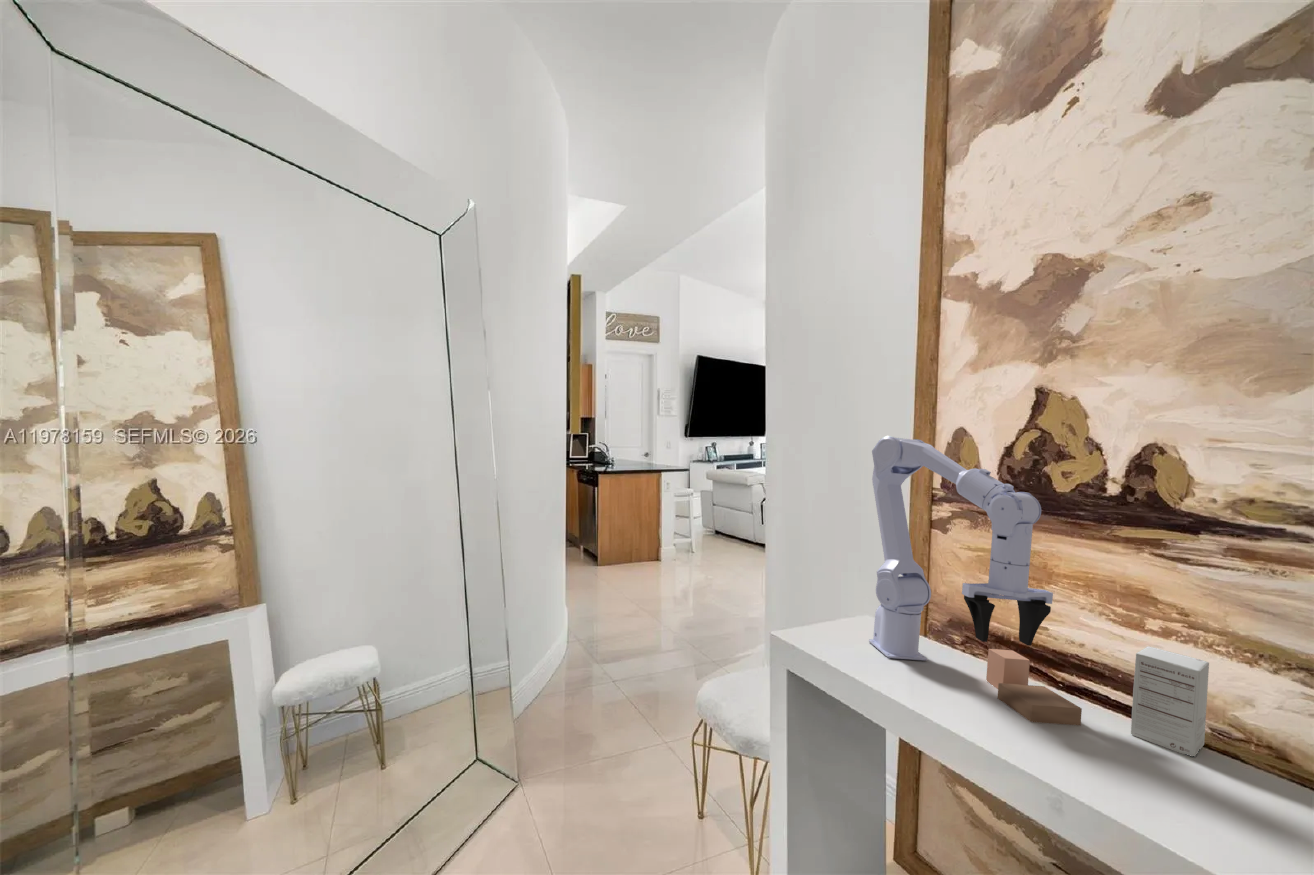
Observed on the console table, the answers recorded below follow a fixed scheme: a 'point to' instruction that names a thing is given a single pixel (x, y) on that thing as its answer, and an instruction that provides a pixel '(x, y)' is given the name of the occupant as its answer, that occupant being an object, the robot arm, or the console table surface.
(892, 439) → the robot arm
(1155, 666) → the supplement box
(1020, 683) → the cube
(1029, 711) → the walnut block
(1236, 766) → the console table surface
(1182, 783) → the console table surface
